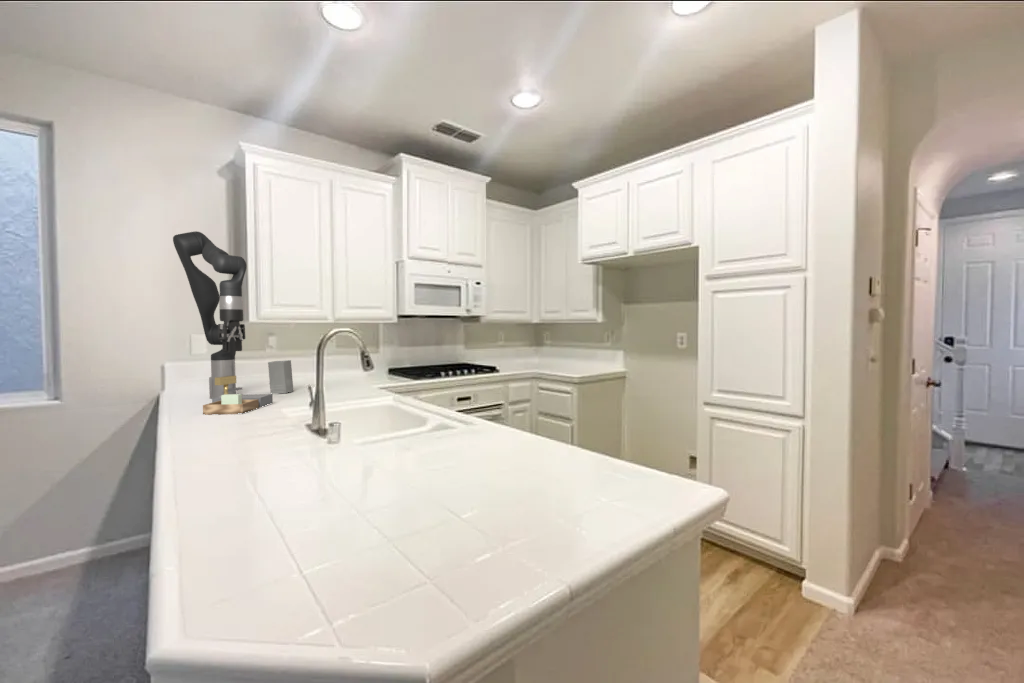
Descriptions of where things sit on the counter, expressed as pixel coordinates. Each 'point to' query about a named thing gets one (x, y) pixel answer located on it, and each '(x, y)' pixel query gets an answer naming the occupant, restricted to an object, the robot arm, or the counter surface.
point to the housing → (262, 398)
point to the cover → (231, 399)
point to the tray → (230, 407)
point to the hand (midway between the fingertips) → (232, 351)
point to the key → (226, 381)
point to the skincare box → (280, 376)
